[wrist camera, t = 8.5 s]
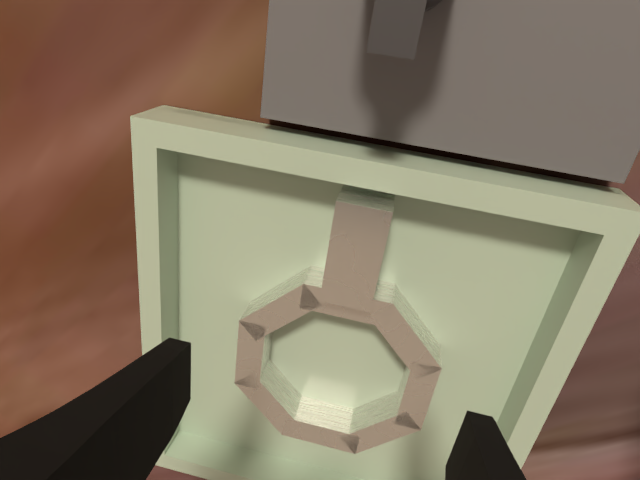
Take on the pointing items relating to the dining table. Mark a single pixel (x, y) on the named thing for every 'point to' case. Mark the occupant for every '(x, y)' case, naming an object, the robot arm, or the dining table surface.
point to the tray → (397, 267)
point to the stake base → (465, 77)
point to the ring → (350, 303)
